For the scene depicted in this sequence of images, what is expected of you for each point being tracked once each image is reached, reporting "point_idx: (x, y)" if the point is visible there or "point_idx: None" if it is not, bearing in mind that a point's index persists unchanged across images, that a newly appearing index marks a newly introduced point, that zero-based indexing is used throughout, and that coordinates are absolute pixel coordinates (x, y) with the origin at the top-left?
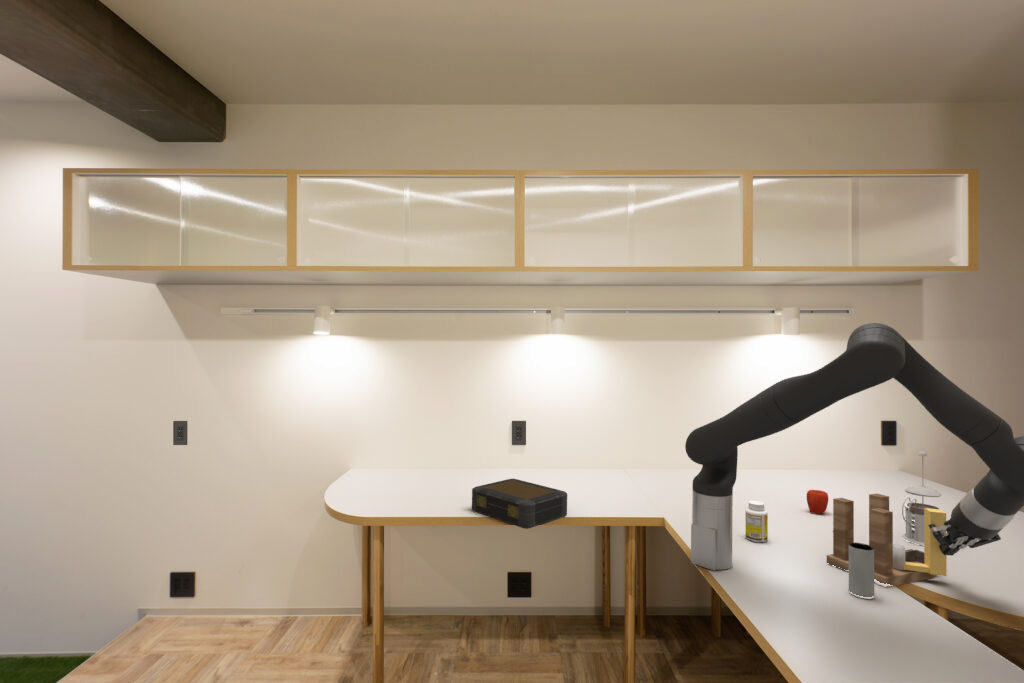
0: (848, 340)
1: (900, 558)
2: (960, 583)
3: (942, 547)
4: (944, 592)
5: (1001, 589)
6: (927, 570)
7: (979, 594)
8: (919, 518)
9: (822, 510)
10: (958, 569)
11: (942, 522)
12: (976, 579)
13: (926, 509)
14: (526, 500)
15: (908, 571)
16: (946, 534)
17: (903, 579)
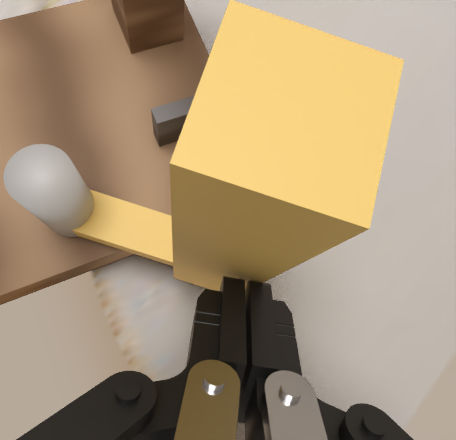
0: None
1: (44, 220)
2: (308, 269)
3: (190, 341)
4: (168, 364)
5: (429, 317)
6: (169, 263)
7: (305, 373)
8: None
9: None
10: (398, 141)
11: (285, 241)
12: (400, 228)
13: (209, 57)
14: None
15: (96, 242)
16: (178, 424)
17: (45, 283)
